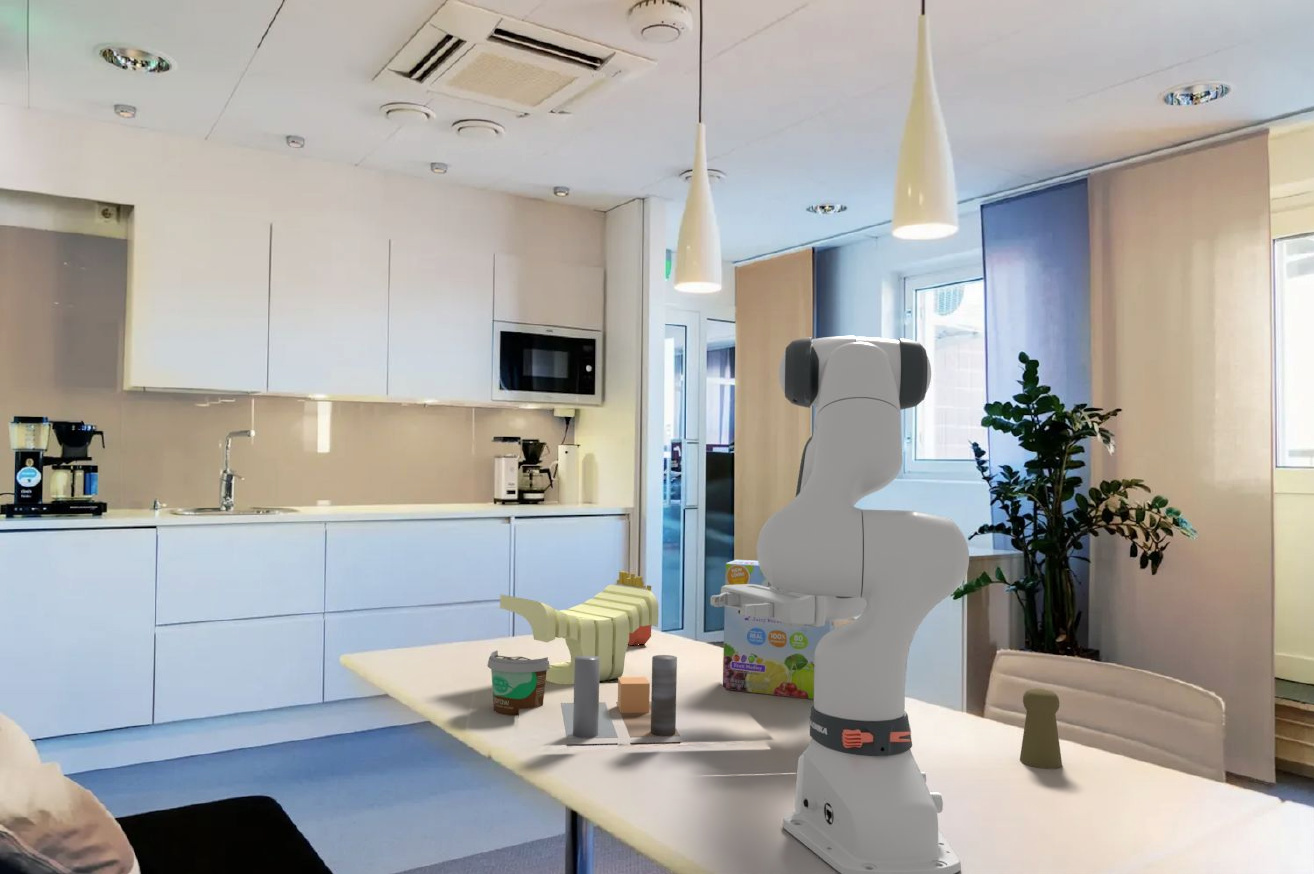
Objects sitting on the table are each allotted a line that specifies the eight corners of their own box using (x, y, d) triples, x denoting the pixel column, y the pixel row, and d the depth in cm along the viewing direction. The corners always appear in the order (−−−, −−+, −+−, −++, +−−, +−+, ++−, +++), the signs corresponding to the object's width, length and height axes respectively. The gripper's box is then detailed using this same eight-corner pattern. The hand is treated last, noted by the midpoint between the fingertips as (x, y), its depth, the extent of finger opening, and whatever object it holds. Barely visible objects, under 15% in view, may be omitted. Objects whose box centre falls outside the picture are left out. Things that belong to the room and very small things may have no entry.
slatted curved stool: (545, 696, 173) (548, 603, 173) (497, 681, 184) (500, 594, 185) (656, 675, 194) (658, 591, 195) (607, 662, 205) (609, 584, 206)
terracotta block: (649, 712, 157) (649, 683, 158) (620, 712, 157) (621, 683, 157) (645, 705, 162) (645, 677, 162) (617, 705, 162) (618, 677, 162)
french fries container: (628, 639, 236) (629, 570, 236) (652, 646, 227) (653, 574, 227) (613, 640, 233) (615, 570, 234) (637, 647, 224) (638, 575, 225)
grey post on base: (617, 744, 142) (619, 660, 142) (566, 745, 141) (569, 660, 141) (605, 708, 164) (606, 635, 164) (560, 709, 162) (562, 635, 163)
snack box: (720, 691, 180) (722, 562, 181) (731, 682, 188) (733, 558, 190) (829, 702, 173) (831, 567, 174) (835, 692, 181) (837, 564, 183)
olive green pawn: (1066, 770, 135) (1066, 695, 135) (1023, 766, 136) (1024, 693, 137) (1057, 758, 141) (1057, 686, 141) (1016, 754, 142) (1016, 684, 143)
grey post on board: (680, 743, 143) (682, 659, 144) (630, 744, 142) (632, 660, 143) (659, 708, 165) (661, 635, 166) (616, 708, 164) (617, 635, 165)
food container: (471, 712, 160) (473, 655, 161) (493, 704, 166) (494, 649, 166) (528, 722, 155) (529, 663, 155) (548, 714, 160) (550, 657, 160)
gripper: (759, 574, 168) (695, 578, 161) (831, 590, 150) (763, 596, 143) (758, 608, 167) (695, 614, 161) (830, 628, 150) (762, 635, 143)
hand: (727, 605), depth 152 cm, fingers open, 8 cm apart
